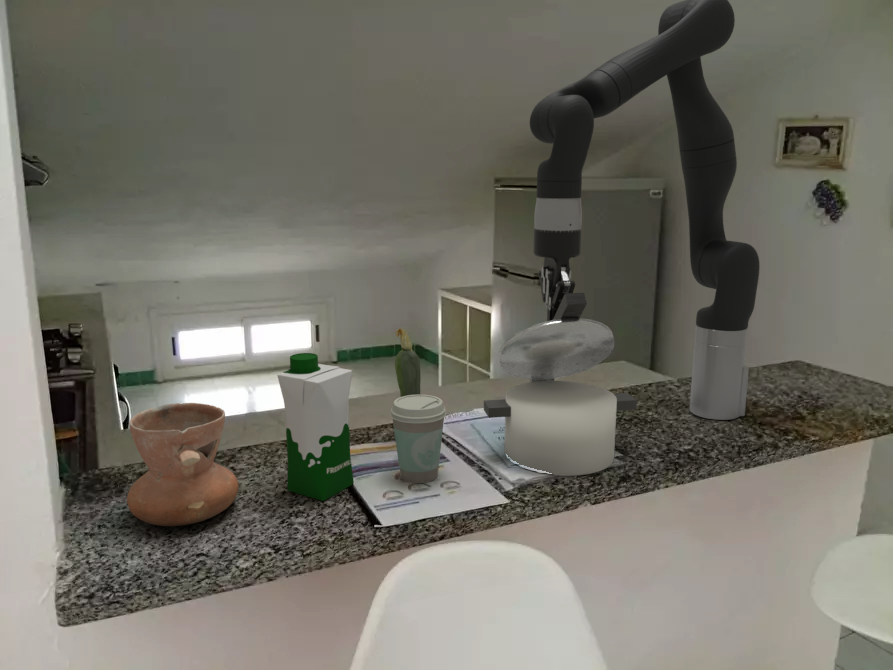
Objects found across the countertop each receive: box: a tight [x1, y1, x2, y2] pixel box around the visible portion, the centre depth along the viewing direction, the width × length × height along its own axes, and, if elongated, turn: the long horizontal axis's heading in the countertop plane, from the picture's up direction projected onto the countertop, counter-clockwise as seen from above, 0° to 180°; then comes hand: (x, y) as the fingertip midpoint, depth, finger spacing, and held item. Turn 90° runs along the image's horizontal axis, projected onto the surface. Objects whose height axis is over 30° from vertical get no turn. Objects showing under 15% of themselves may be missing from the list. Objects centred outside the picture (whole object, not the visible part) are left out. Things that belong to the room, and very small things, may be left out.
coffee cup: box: [389, 394, 447, 484], centre depth 111 cm, size 8×8×12 cm
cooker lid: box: [498, 292, 616, 382], centre depth 119 cm, size 19×25×4 cm
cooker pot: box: [483, 380, 638, 477], centre depth 119 cm, size 25×18×10 cm
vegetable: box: [394, 328, 421, 398], centre depth 125 cm, size 4×4×20 cm
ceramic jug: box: [126, 402, 239, 527], centre depth 99 cm, size 18×14×14 cm
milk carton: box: [277, 352, 355, 502], centre depth 106 cm, size 9×9×20 cm
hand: (554, 331), depth 120 cm, fingers closed
